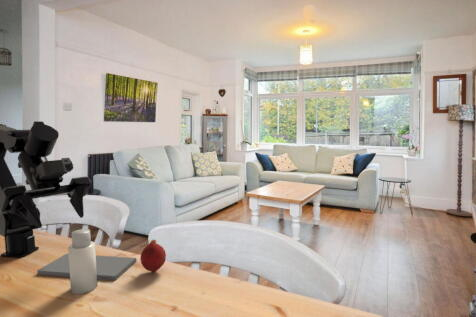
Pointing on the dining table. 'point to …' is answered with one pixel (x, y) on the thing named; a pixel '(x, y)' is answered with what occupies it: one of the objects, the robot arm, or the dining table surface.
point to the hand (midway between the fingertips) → (62, 221)
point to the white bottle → (82, 262)
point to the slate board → (104, 264)
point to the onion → (153, 256)
